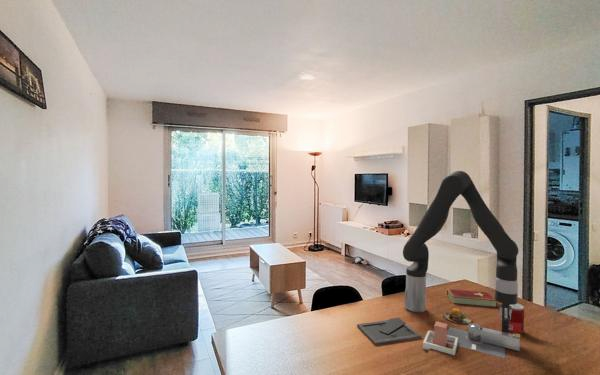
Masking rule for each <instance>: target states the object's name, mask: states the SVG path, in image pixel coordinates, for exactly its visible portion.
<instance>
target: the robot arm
mask: <svg viewBox="0 0 600 375" xmlns="http://www.w3.org/2000/svg"><path fill="white" fill-rule="evenodd" d="M460 195H461V197H462V198H464V200H465V201H466V204H467V205H468V207H469V209H470V212H471V215H472V218H473V219H474V221H475V223H476V225H477V226H478V227H479V229H480V231H482V233H483V234H484V235H485V236H486V237H487V239H488V240H489V242H490V244H491V245H492V246H493V248H494V250H495V252H496V267H495V268H496V269H495V280H494V298H495V300H496V302H497V303H500V304H499V312H500V313H499V314H500V319H501V318H502V320H500V322H501V323H502V327H501V332H505V333H509V332H508V331H509V324H510V323H509V322H510V320H511V313H512V306H509V305H515V304H517V303H518V295H519V294H518V293H519V291H518V287H519V286H518V266H517V257H518V255H519V247H518V245H517V243H516V241H514V240H513V239H512V238H511V237H510V235H508V234H507V232H506V231H505V229H504V227H503V226H502V224H501V223H500V222H499V220H498V219H497V218H496V216H495V215H494V214H493V212H492V211H491V210H490V209H489V207H488V206H487V205H488V204H486V202H485V201H484V200H483V197H482V196H481V194H480V192H479V191H478V189H477V187H476V185H475V184H474V182H473V180H472V178H471V177H470V175H469V174H468V173H467V172H466V171H463V170H457V171H453V172H451V173H449V174H448V175H446V176H445V177H444V178H443V179H442V181H441V184H440V185H439V188H438V191H437V193H436V195H435V197H434V198H433V201H432V202H431V203H430V205H429V207H428V208H427V210H426V211H425V212H424V214H423V217H422V218H421V220H420V222H419V223H418V225H417V227H416V229H415V230H414V232H413V234H412V235H411V236H410V237H409V239H408V240H407V241H406V243H405V244H404V246H403V250H402V256H403V258H404V260H405V261H407V262H410V263H412V264H410V265H409V266H408V267H406V272H405V274H406V276H405V290H404V309H406V310H408V311H410V312H414V313H424V312H425V311H426V308H427V307H426V305H427V304H426V300H427V298H426V297H427V296H426V295H427V294H426V293H427V289H426V288H427V272H428V269H429V259H430V256H429V255H430V253H429V252H430V251H429V247H428V246H427V244H426V242H428V241H429V240H430V239H432V238H433V237H435V236H436V235H437V234H438V233H440V231H441V230H442V229H443V227H444V226H445V224H446V222H447V220H448V217H449V213H450V212H449V211H450V208H451V207H452V205H453V204H454V202H456V199H458V198H459V196H460Z"/></svg>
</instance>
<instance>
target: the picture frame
mask: <svg viewBox="0 0 600 375" xmlns="http://www.w3.org/2000/svg"><path fill="white" fill-rule="evenodd" d="M356 327H357V328H358V329H359V330H360V331H361V332H362V333H363V334H364V335H365V337H367V339H368V340H369V341H370V342H371V344H373V345H374V346H381V345H387V344H393V343H401V342H406V341H411V340H412V341H413V340H419V339H422V337H423V336H422V335H421V334H420V333H418V332H417V331H416V330H414V329H413V328H412V327H411V326H409V325H408V324H407V323H406V322H405V321H404V320H402V319H401V318H400V317H395V318H389V319H386V320H385V319H384V320H379V321H378V320H377V321H371V322H370V321H369V322H363V323H357V324H356Z"/></svg>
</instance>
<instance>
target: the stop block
mask: <svg viewBox="0 0 600 375" xmlns="http://www.w3.org/2000/svg"><path fill="white" fill-rule="evenodd" d="M433 326H434V327H433V329H434V330H433V332H434V339H433V344H436V345H439V346H443V347H447V344H448V343H447V332H448V323H445V322H441V321H437V320H436V321H435V323H434V325H433Z"/></svg>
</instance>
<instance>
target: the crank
mask: <svg viewBox="0 0 600 375" xmlns="http://www.w3.org/2000/svg"><path fill="white" fill-rule="evenodd" d="M467 331H468V338H469V339H470V340H472V341H475V342H485V343H489V344H493V345H497V346H501V347H505V349H509V350H514V351H517V352H520V345H521V344H520V343H521V342H520V341H521V334H519V333H515V332H513V333H509V332H508V333H505V332H502V330H501V331H500V330H496V329H491V328H487V327H483V326H482V325H480V324H478V323H474V322H472V323H469V324H467Z"/></svg>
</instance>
